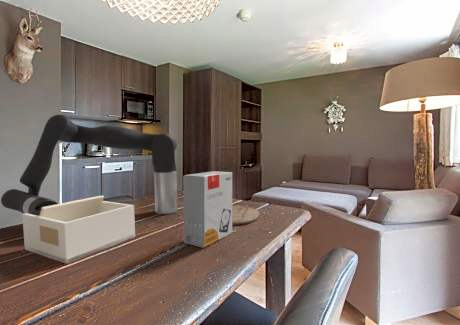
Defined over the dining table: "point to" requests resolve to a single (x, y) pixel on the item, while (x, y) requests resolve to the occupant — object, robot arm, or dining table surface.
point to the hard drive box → (207, 207)
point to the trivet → (243, 215)
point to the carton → (79, 232)
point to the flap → (73, 209)
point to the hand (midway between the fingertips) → (67, 217)
